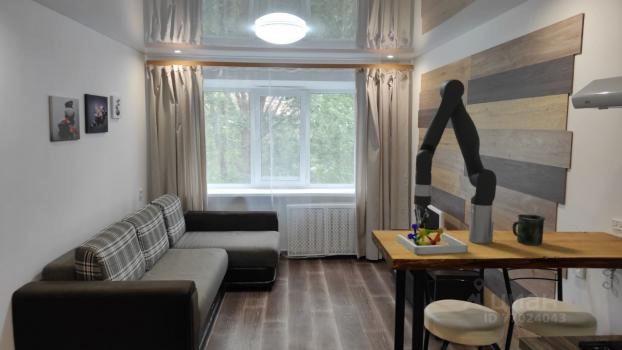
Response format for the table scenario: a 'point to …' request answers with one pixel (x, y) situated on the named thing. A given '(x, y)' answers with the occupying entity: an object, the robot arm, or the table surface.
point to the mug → (529, 229)
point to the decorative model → (424, 233)
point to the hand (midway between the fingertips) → (421, 231)
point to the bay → (435, 246)
